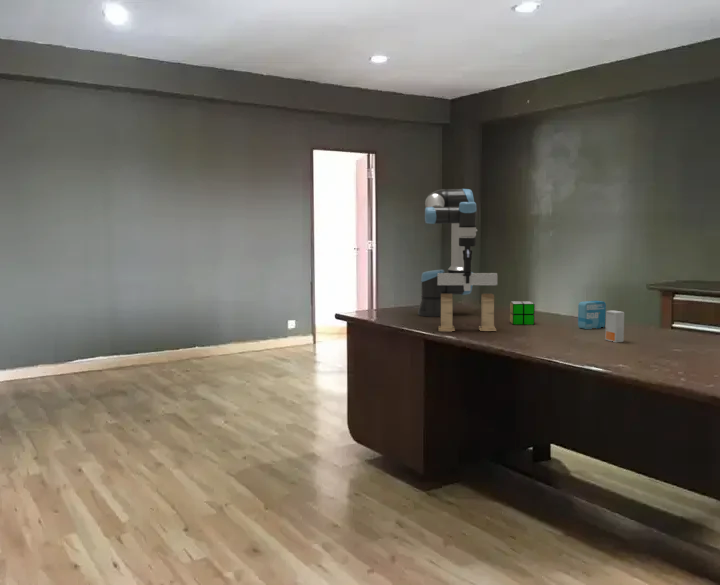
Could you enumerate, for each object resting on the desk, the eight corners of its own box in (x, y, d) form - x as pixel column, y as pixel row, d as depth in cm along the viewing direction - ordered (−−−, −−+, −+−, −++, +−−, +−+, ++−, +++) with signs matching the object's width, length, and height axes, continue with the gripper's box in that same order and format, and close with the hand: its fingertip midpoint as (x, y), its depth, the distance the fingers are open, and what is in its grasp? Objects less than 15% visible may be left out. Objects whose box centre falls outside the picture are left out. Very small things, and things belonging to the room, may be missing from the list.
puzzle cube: (531, 322, 323) (531, 301, 322) (534, 325, 313) (534, 303, 312) (509, 321, 324) (510, 301, 323) (512, 325, 314) (512, 303, 313)
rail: (437, 284, 301) (437, 273, 300) (496, 284, 298) (496, 273, 298) (437, 285, 297) (437, 273, 296) (497, 285, 294) (497, 273, 294)
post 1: (438, 328, 305) (438, 293, 303) (454, 328, 304) (454, 293, 302) (438, 331, 297) (438, 295, 295) (454, 331, 296) (454, 295, 294)
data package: (584, 329, 298) (585, 302, 297) (577, 328, 302) (578, 301, 301) (605, 327, 303) (606, 301, 302) (598, 326, 307) (598, 300, 306)
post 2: (478, 328, 303) (479, 293, 301) (494, 328, 302) (494, 293, 300) (480, 331, 295) (480, 295, 293) (496, 331, 294) (496, 295, 292)
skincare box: (604, 340, 271) (605, 310, 270) (613, 339, 272) (614, 310, 271) (615, 342, 265) (616, 312, 264) (624, 341, 267) (624, 311, 265)
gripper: (477, 237, 286) (476, 292, 289) (474, 236, 303) (474, 288, 306) (459, 238, 287) (459, 292, 290) (458, 236, 304) (457, 288, 307)
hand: (467, 290), depth 298 cm, fingers closed on rail, 4 cm apart
